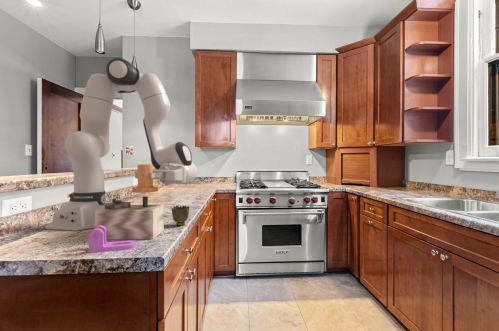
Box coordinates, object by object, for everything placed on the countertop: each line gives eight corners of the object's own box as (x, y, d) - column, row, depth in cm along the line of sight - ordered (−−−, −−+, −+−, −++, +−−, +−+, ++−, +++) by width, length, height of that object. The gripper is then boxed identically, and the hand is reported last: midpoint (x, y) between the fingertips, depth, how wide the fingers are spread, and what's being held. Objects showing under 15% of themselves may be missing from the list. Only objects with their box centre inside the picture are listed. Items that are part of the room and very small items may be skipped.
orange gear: (129, 191, 103) (129, 164, 102) (153, 189, 108) (153, 164, 108) (136, 193, 95) (136, 164, 95) (161, 191, 101) (161, 164, 101)
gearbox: (94, 239, 95) (94, 198, 95) (112, 229, 108) (112, 194, 108) (153, 239, 96) (153, 199, 96) (163, 229, 109) (163, 194, 108)
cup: (184, 228, 112) (184, 208, 112) (168, 226, 113) (168, 207, 113) (192, 223, 119) (192, 205, 119) (176, 223, 121) (176, 204, 121)
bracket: (89, 253, 81) (88, 229, 81) (93, 247, 86) (93, 225, 86) (136, 249, 85) (136, 226, 85) (137, 243, 91) (137, 223, 91)
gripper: (150, 165, 118) (123, 166, 105) (188, 166, 109) (164, 167, 97) (150, 180, 118) (123, 182, 105) (188, 182, 109) (164, 185, 97)
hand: (143, 175), depth 101 cm, fingers closed on orange gear, 5 cm apart
